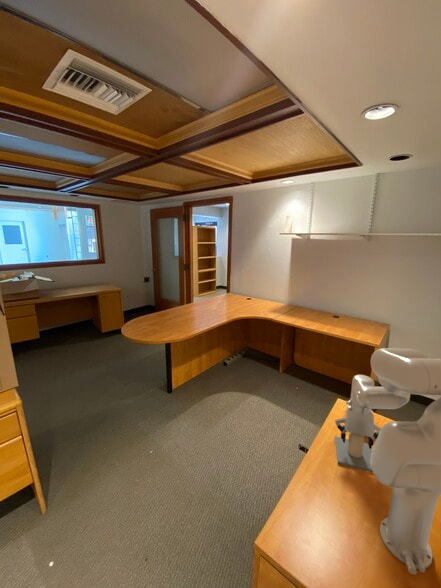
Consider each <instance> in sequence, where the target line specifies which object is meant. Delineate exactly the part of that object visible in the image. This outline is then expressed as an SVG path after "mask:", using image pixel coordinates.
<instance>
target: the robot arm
mask: <svg viewBox="0 0 441 588" xmlns="http://www.w3.org/2000/svg"><path fill="white" fill-rule="evenodd" d="M370 368H371V370H372V372H373V373H374V374H375V375H376V376H377V380H378V383H379V384H380V385H381V386H375V381H374V379H373V378H372V377H370V376H367V375H365V374H356V375H354V376H353V378H352V382H351V391H350V398H349V400H345V404H346V405H347V407H346V411H345V414H344V417H342V418H337V419H335V420H334V423H335V425H336V427H337V429H338V430H339V431H340V437H341V439H343V442H344V443H345V439H347V438H346V436H347V433H353V434H358V435H362V436H366V437H368V439H367V444H368V445H369V448H370V449H371V450H372V452H371V459H370V461H371V468H372V471H373V473H372V474H373V475H374V477H375V478H376V480H377V481H378V483H380V484H382V486H385V487H387V488H392V492H391V498H390V502H389V503H390V504H389V509H388V515H387V517H385V518H383V519H382V520H381V521H380V524H379V525H380V526H379V534H380V537H381V538H380V539H381V541H383V544H384V545H385V547H386V548H387V550H388V551H389V552H390V553H391V554H392V555H393V556H394V558H396V559H398V561H400V562H401V563H403V564H404V565H406V568H407V570H408V573H410V574H412V575H417V574H418V571H417V570H419V572H421V573H425V572H426V569H427V568H429V567H430V566H431V564H432V562H433V558H434V557H433V556H434V555H433V552H432V548H431V545H430V543H429V539H430V534H431V529H432V524H433V520H434V515H435V513H436V512H435V511H436V507H437V503H438V500H439V498H440V496H441V358H429V357H428V355H427V354H425V353H424V352H422V351H420V350H419V349H415V348H408V347H407V348H401V347H399V348H398V347H397V348H396V347H395V348H394V347H390V348H389V347H383V348H378V349H377V350H375V351H374V352H373V353H372V354H371V357H370ZM411 395H416V396H417V395H419V396H440V397H439V398H437V399H435V400H434V401H433V402H431V403H430V404H429V405H427V407H425V410H424V412H423V414H422V416H421V417H420V418H419V419H417V420H415V421H414V420H413V421H402V420H401V421H399V420H398V421H397V420H396V421H389V422H386V423H384V424H383V425H382V427H379V426H378V425H377V424H376V423H375V416H374V415H375V414H374V411H373V410H374V409H376V410H378V409H379V410H382V409H383V410H396V409H400V408H401V407H404V406H405V405H406V404H408V403H409V402H410V400H411V399H410V398H411ZM372 409H373V410H372ZM374 423H375V424H376V425H375V424H374ZM341 424H343V425H341ZM374 429H375V433H374Z"/></svg>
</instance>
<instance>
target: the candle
mask: <svg viewBox="0 0 441 588" xmlns="http://www.w3.org/2000/svg"><path fill="white" fill-rule="evenodd" d="M348 433H349V432H348ZM348 439H349V440H348V449H347V450H348V453H349V454H350V455H351V456H353V457H355V458H360V457H362V453H363V446H364V443H365V439H366V438H365V437H364V436H362V435H358V434H353V433H349V434H348Z"/></svg>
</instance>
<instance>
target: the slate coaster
mask: <svg viewBox="0 0 441 588" xmlns="http://www.w3.org/2000/svg"><path fill="white" fill-rule="evenodd" d="M348 440H349V438H345V443H344V442H343V439H341V436H340V437H339V436H335V435H334V444H335V445H334V446H335V452H336V453H335V454H336V463H337V464H338V465H341V466H345V467H349V468H353V469H357V470H361V471H364V472H368V473H372V474H374V473H373V471H372V468H371V461H370V459H371V452H372V449H370V448H369V445H368V442H364V446H363V453H362V457H360V458H355V457H353V456H351V455H350V454H349V453H348V450H347V449H348Z"/></svg>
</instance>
